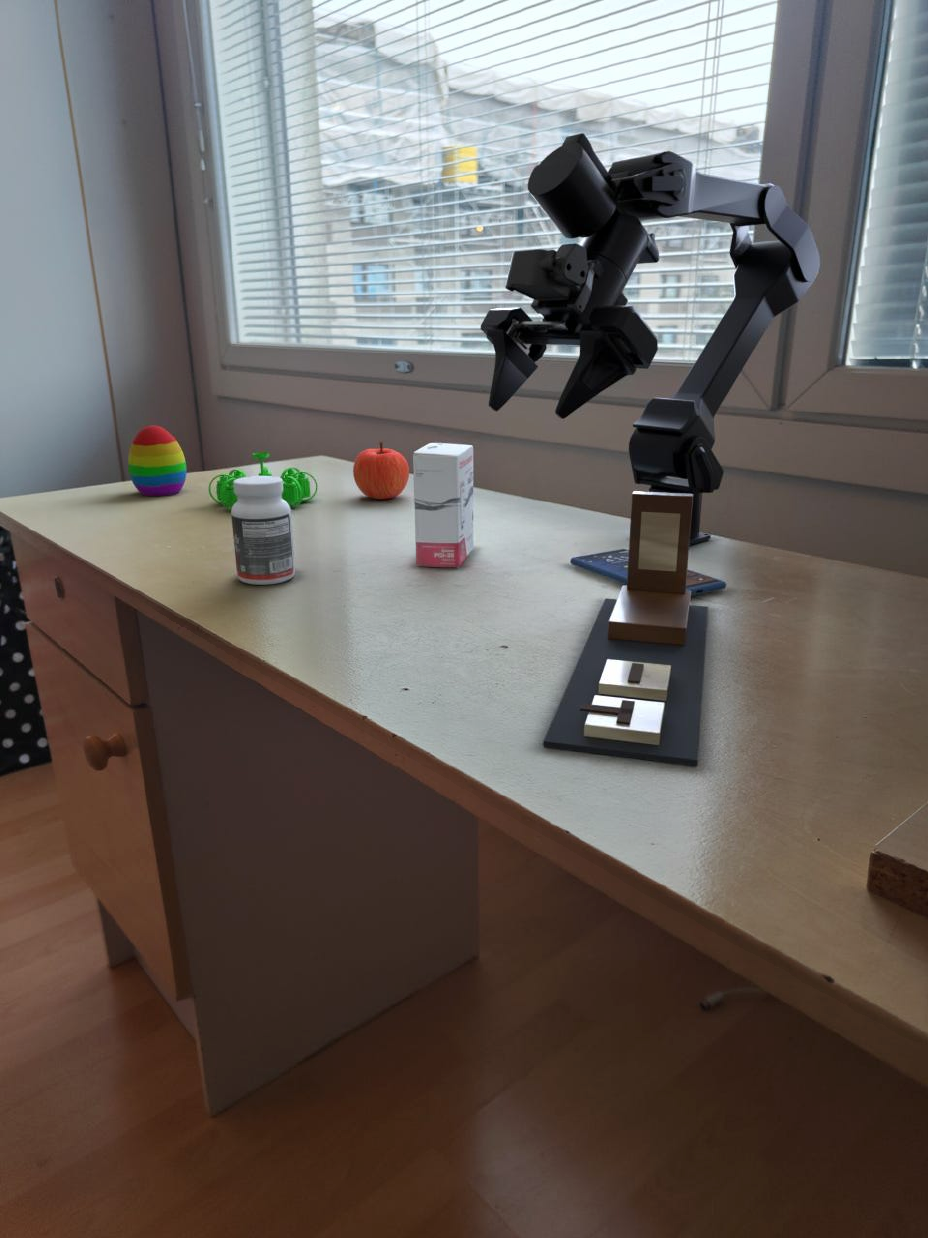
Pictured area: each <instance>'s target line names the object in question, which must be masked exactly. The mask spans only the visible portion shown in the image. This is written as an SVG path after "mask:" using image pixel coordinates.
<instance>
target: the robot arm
mask: <svg viewBox="0 0 928 1238" xmlns="http://www.w3.org/2000/svg"><path fill="white" fill-rule="evenodd" d="M526 185H527V191H528V193H529V194H530V195H531V196H532V198H533V199H534V200H535V202H536V203H537V204H538V205H539V207H540V208H541V209H542V211H543V213H545V215H546V216H547V217H548V218H549V220H550V221H551V222H552V223H553V225H554V226H555V227H556V228H557V230H558V231H559V232H560V234H561V235H562V236H563V237H565V238H566V239H577V238H583V239H582V240H581V242H580V244H579V243H576V242H572V243H563V244H560V246H559V247H558V249H557V250H555V249H541V248H538V249H527V250H525V249H524V250H516V251H512V255H511V259H510V264H509V268H508V273H507V277H506V281H505V287H504V289H506V290H507V291H510V292H517V293H519V294H521V295H523V296H526V297H528V298H530V299H531V300H532V302H531V304H530V307H531V308H532V310H533V311H535V313H536V314H539V315H541V316H542V319H541V320H542V321H540V320H539V321H536V320H535V321H534V320H533V319H532V318H531V317H530V316H529V315H528V313H526V312H525V310H523V308H522V307H498V308H493V309H489V310H488V311H487V313H486V315H485V317H484V318H483V320H482V322H481V324H480V330H481V332H483V333H484V334H485V335H486V339H487V340H488V342H490V344H491V345H492V347H493V350H494V368H493V374H492V381H491V385H490V386H491V387H490V393H489V398H488V399H489V401H488V408H490V409H491V410H492V411H493V412H498V411H500V410H501V409H502V407H503V406H505V405H506V404H507V403H508V402H509V401H510V399H512V397H513V396H514V395H515V394H516V393H517V392H518V390H519V389H520V388H521V387H522V386H523V385H524V384H525V383H526V382H527V380H528V379H529V378H530V377H531V376H532V374H534V372H535V371H536V370H537V369H538V368H539V365H538V364H536V362H537V361H539V360H540V359H541V358H543V356H544V354H545V353H546V351H547V349H548V345H549V346H550V345H551V346H552V345H554V346H556V345H557V346H567V347H569V348H579V355H578V358H577V361H576V363H575V365H574V367H573V369H572V371H571V373H570V376H569V377H568V379H567V381H566V383H565V386H564V388H563V390H562V392H561V394H560V397H559V399H558V402H557V405H556V407H555V411H554V414H555V415H556V416H557V417H558V418H559V419H561V420H564V419H566V418H567V417H569V416H570V415H571V414H573V413H574V412H576V411H577V410H578V409H580V408H581V407H582V406H584V405H585V404H586V403H588V402H590V400H592V399H594V397H596V396H598V395H599V394H601V393H602V392H604V391H605V390H606V389H608V388H610V387H611V386H613V385H615V384H616V383H617V382H619V381H621V380H622V379H624V378H625V377H627V376H633V375H635V374H636V372H637V369H643V370H644V369H645V370H648V369H649V368H650V366H651V364H652V362H653V360H654V358H655V356H656V355H657V352H658V351H659V346H658V344H659V343H658V342H659V341H658V337H657V335H656V333H655V332H654V331H653V330H652V328H651V327H650V326H649V325H648V323H647V322H646V321H645V319H644V318H643V317H642V316H641V314H640V313H639V311H638V310H637V309H636V308H635V306H634V305H632V304H631V305H630V304H628V302H629V300H628V298H627V297H626V296H625V294H624V293H623V292H624V290H625V288H626V287H627V284H628V282H629V281H630V279H631V276H632V274H633V273H634V271H635V270H636V267H637V266H638V265H642V264H644V265H645V264H654V263H659V261H660V251H659V248H658V246H657V243H656V235H655V233H653V232H650V233H649V232H648V230H647V229H646V228H645V226H644V225H643V224H642V222H647V221H655V220H664V219H672V218H677V217H678V218H687V219H694V220H702V221H710V222H717V223H718V222H719V223H724V224H725V223H726V224H729V226H730V228H731V230H732V235H731V241H730V247H729V256H730V259H731V261H732V264H733V266H734V269H735V271H734V273H733V276H732V281H733V292H734V293H733V294H734V297H733V299H732V301H731V302H730V304H729V306H728V308H727V310H726V311H725V313H724V314H723V316H722V318H721V319H720V321H719V322H718V324H717V326H716V327H715V329H714V330H713V332H712V334H711V336H710V337H709V339H708V340H707V343H706V344H705V345H704V347H703V349H702V351H701V352H700V354H699V355H698V357H697V359H696V361H695V362H694V363H693V365H692V366H691V369H690V370H689V372H688V373H687V375H686V377H685V378H684V380H683V381H682V383H681V385H680V387H679V388H678V390H677V391H676V393H675V394H674V395H673V396H672V397H670V398H665V397H664V398H663V397H652V398H651V399H650V400H649V401H648V402H647V403H646V405H645V406H644V407H645V408H644V410H643V411H642V414H641V416H640V417H639V418H638V419H637V421H634V423H633V424H632V427H633V428H635V429H634V430H633V431H632V434H631V436H630V438H629V441H628V456H629V460H630V464H631V471H632V475H633V480H634V484H636V485H645V486H650V487H649V488H648V492H662V493H684V494H693V506H692V518H691V531H690V543H689V546H691V545H694V544H698V543H700V542H704V541H707V540H710V539H711V537H712V534H710V533H706V532H702V531H701V532H700V526H701V513H702V503H703V494H712V493H714V491H717V490H719V489H720V486H721V483H722V480H723V477H724V472H725V471H724V469H723V467H722V465H721V463H720V461H719V460H718V459H717V456H715V453H714V452H713V450H712V449H713V447H714V445H715V442H716V432H715V431H716V430H715V419H714V418H715V416H716V414H717V412H718V411H719V410H720V407H721V406H722V404H723V402H724V401H725V399H726V397H727V396H728V394H729V392H730V391H731V390H732V387H733V386H734V384H735V382H736V380H737V379H738V377H739V376H740V374H741V372H742V370H743V369H744V367H745V366H746V364H747V362H748V361H749V359H750V357H751V355H752V354H753V352H754V351H755V349H756V347H757V345H758V344H759V342H760V341H761V339H762V337H763V336H764V334H765V332H766V331H767V329H768V327H769V325H770V324H771V322H772V321H773V320H774V318H776V317H777V316H780V315H781V314H782V313H784V312H786V311H787V310H788V309H790V308H791V307H793V306H795V305H796V304H798V303H799V301H800V300H801V299H802V298H803V296H804V295H805V294H806V293H807V291H808V290H809V289H810V288H811V286H812V285H813V283H814V282H815V280H816V278H817V276H818V274H819V270H820V267H821V260H820V259H821V258H820V253H819V250H818V247H817V245H816V242H815V239H814V236H813V233H812V231H811V228H810V226H809V225H808V223H807V222H806V221H804V219H803V218H802V217H800V216H799V215H798V214H797V213H796V212H795V211H794V210H793V209H792V208H791V207H790V206H789V205H788V203H787V201H786V198H785V196H784V193H783V190H782V189H781V187H780V186H778V185H777V184H775V185H774V184H772V183H771V182H767V183H757V182H753V181H745V180H742V179H741V180H740V179H735V178H729V177H723V176H718V175H713V174H712V175H711V174H706V173H702V172H700V171H697V170H696V169H695V165H694V163H693V162H692V161H691V160H689V159H687V158H685V157H683V156H682V155H679V154H677V153H676V152H673V151H671V150H665V151H659V152H654V153H649V154H644V155H639V156H638V155H637V156H634V157H628V158H623V159H617V160H615V161H613V162H612V163H611V166H610V168H609V169H608V170H607V168H606V167H605V166H604V164H603V163H602V161H601V160H600V158H599V157H598V155H597V153H596V152H595V151H594V148H593V146H592V144H591V141H590V140H589V139H588V137H587V135H585V133H583V132H582V133H577V134H572V135H568V136H566V137H565V139H564V141H563V142H562V144H561V146H559V147H557V148H556V149H554V150H553V151H551V152H550V153H549V154H548V155H546V157H544V158H543V159H542V160H541V162H540V163H539V164H537V165H535V167H534V168H533V169H532V171H531V172H530V174H529V177H528V180H527V184H526ZM758 225H760V226H761V225H765V226H766V228H767V230H768V232H769V233H771V234H772V235H773V236H774V237H775V238H776V239H777V240H769V241H768V240H766V241H756V242H753V241H752V239H751V236H750V233H749V231H750V226H758Z"/></svg>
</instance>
